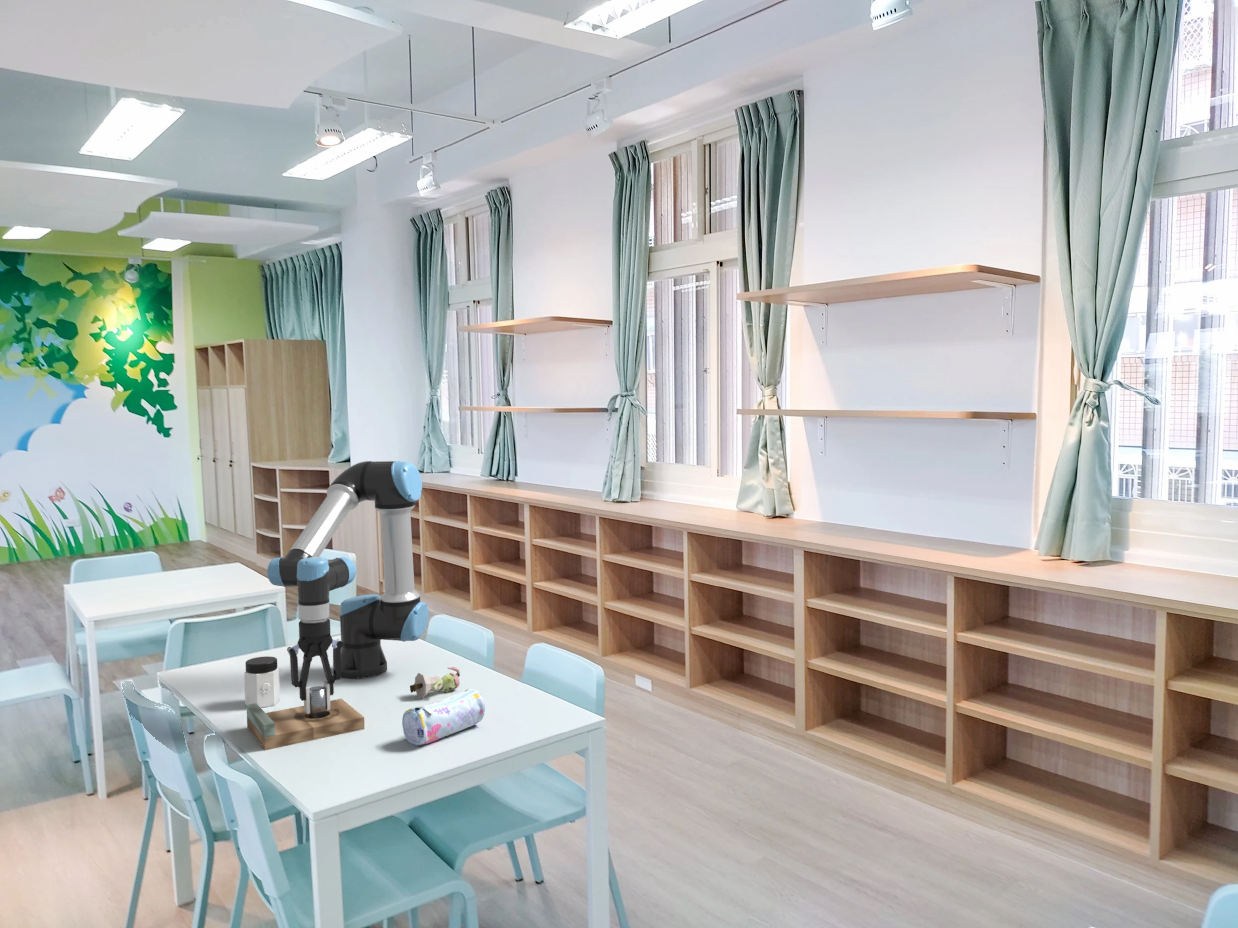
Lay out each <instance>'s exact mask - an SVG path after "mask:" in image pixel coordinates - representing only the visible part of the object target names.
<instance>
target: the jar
mask: <svg viewBox="0 0 1238 928" xmlns="http://www.w3.org/2000/svg"><path fill="white" fill-rule="evenodd" d="M243 676H244V700H245V701H244V704H245V707H247V705H249V704H255V703H257V704H258V705H259V707H260V708H261V709H263V708H269V707H273V706H276V704H278V703H279V701H281V697H280V696H281V694H280V693H281V691H280V667H278V658H277V657H276V656H269V655H268V656H258V657H252V658H249V659H247V660H246V661H245V671H244V675H243Z"/></svg>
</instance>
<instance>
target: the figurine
mask: <svg viewBox="0 0 1238 928" xmlns="http://www.w3.org/2000/svg"><path fill="white" fill-rule="evenodd" d="M447 670H452V671H455V672H456V673H454V672H449V673H447V674H445V675H443V676H442V677H441V676H438V675H436V676H435V675H433V676H431V677H427V676H426V675H425V674H421V673H420V672H418V673H417V674H416V676H415V677H414V684H411V685H409V691H410V693H411V694H412V693H416V696H417V697H418V698H421V700H422V699H424V698H425V697H426V696H427V695H428V693H430V692H439V690H441V691H444V693H445V692H447V693H449V692H450V691H453V690H455V689H457V688H459V686H460V684H461V683H460V678H459V677H460V674H461V672H460V668H457V667H454V666H450V667H447Z"/></svg>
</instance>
